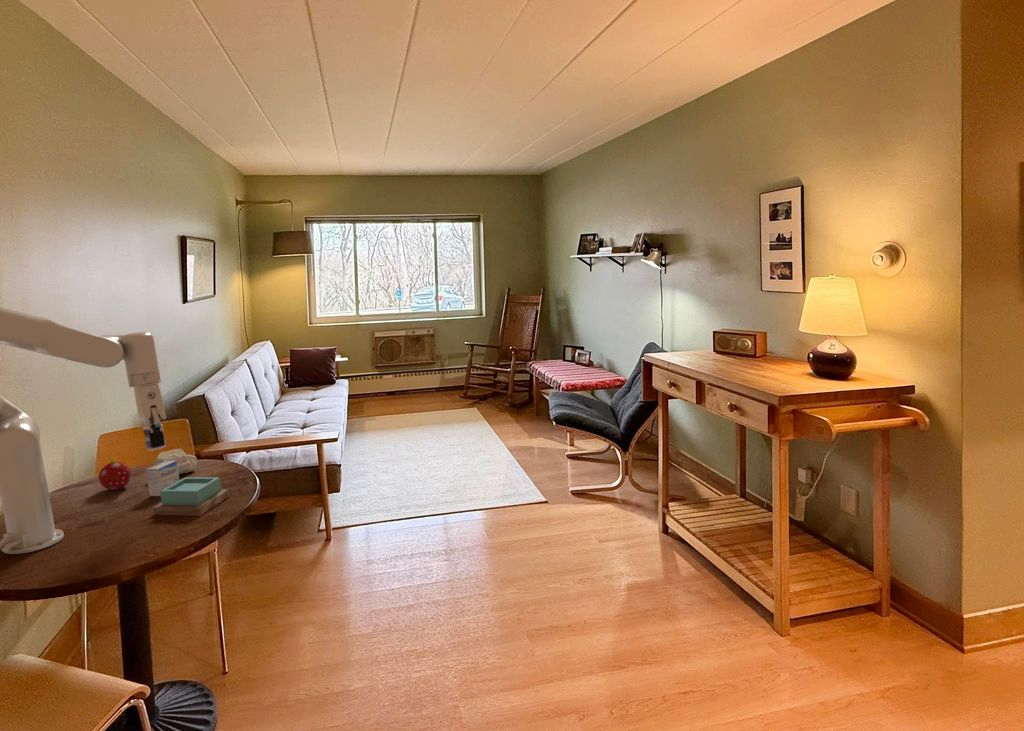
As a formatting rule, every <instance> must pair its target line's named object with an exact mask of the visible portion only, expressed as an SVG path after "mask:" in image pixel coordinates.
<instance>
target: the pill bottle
mask: <svg viewBox="0 0 1024 731" xmlns="http://www.w3.org/2000/svg"><path fill="white" fill-rule="evenodd" d="M159 418H160V417H159ZM160 419H161V418H160ZM150 421H154V420H153V419H150ZM142 423H143V424H144V425H145V426H144V425H143V424H142V425H143V427H142V431H143V437H144V443H145V449H146V450H147V451H156V450H161V449H163V448H165V447H166V445H167V444H166V438H165V433H164V427H163V424H162V423H161V427H162V431H163V436H164V442H165V445H163V446H158V447H154V448H152V447H151V442H150V437H149V433H150V430H149V425H148V422H145V421H144V420H142ZM153 424H154V423H152V424H151V425H153Z"/></svg>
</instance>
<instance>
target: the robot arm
mask: <svg viewBox="0 0 1024 731" xmlns="http://www.w3.org/2000/svg"><path fill="white" fill-rule="evenodd" d="M0 345H5V346H10V347H14V348H18V349H21V350H26V351H30V352H35V353H38V354H42V355H46V356H51V357H56V358H60V359H64V360H67V361H72V362H76V363H81V364H85V365H88V366H94V367H99V368H103V369H104V368H108V369H109V368H112V367H113V368H114V367H116V366H117V365H119V364H120V363H121V362H122V361H124V364H125V365H124V366H125V371H126V376H127V382H128V386H129V388H133V389H134V391H133V392H134V397H135V404H136V409H137V414H138V418H139V419H140V420H142V421H143V420H144V421H145V422H148V425H149V430H150V433H149V437H150V442H151V447H152V448H154V447H158V446H163V445H165V444H166V441H165V442H164V438H165V435H164V436H163V432H164V430H163V431H162V427H161V424H162V423H161V420H166V418H167V414H166V409H165V405H164V400H163V396H162V393H161V388H160V386H159V384H160V383H162V380H161V376H160V369H159V363H158V362H159V361H158V357H157V356H158V355H157V350H156V344H155V339H154V336H153V334H152V333H150V332H147V331H145V332H144V331H142V332H140V331H139V332H133V333H132V332H131V333H126V334H124V335H123V334H121V335H120V334H117V335H116V334H115V335H112V334H110V335H109V334H108V335H107V334H106V335H105V334H103V335H96V334H92V333H89V332H84V331H81V330H77V329H73V328H71V327H67V326H65V325H62V324H60V323H57V322H55V321H54V320H51V319H48V318H46V317H41V316H37V315H33V314H29V313H26V312H20V311H17V310H13V309H9V308H5V307H1V306H0ZM159 417H160V418H159ZM150 419H153V420H154V421H150ZM152 423H154V424H153V425H151V424H152ZM142 426H143V427H144V426H145V425H144V424H142ZM40 432H41V431H40V427H39V424H37V422H36V421H35V420H34V419H33V418H32V417H30V416H29V415H28V414H27V413H25V412H24V411H23V410H21V409H20V408H19V407H17V406H16V405H15V404H13V403H12V402H11V401H9V400H7V399H6V398H5V397H3V395H1V394H0V501H1V502H0V503H1V508H2V512H3V518H4V524H5V529H6V533H3V534H2V535H3V538H2V539H1V541H0V551H2V552H3V553H4V554H7V555H21V554H28V553H32V552H36V551H39V550H42V549H45V548H49V547H51V546H53V545H55V544H57V543H58V542H59V543H60V541H61V540H63V538H64V537H65V534H64V531H63V530H62V529H59V528H56V527H55V526H56V525H55V522H54V514H53V508H52V504H51V499H50V493H49V487H48V482H47V481H48V479H47V475H46V470H45V464H44V459H43V454H42V448H41V437H40V436H41V434H40Z"/></svg>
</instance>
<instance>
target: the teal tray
mask: <svg viewBox="0 0 1024 731" xmlns="http://www.w3.org/2000/svg"><path fill="white" fill-rule="evenodd" d="M221 484H222V483H221V477H213V476H211V477H209V476H208V477H201V476H200V477H199V476H198V477H189V476H188V477H187V476H186V477H184V478H181V479H179V481H177V482H176V483H174V484H172V485H170V486H168V487H167V488H165V489H163V490H161V491H160V494H161V496H160V499H161V502H162V505H200V504H201V503H203V502H204V501H206V500H207V499H209V498H211V497H212V496H214V495H215V494H217V493H218V492H220V491H221V489H222V485H221Z"/></svg>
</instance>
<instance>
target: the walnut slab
mask: <svg viewBox="0 0 1024 731" xmlns="http://www.w3.org/2000/svg"><path fill="white" fill-rule="evenodd" d="M229 496H231V495H230V489H228V488H227V489H226V488H225V489H224V488H221V491H220V492H218V493H217V494H215V495H214V496H212V497H211V498H209V499H207V500H206V501H204V502H203V503H201V504H200V505H162V501H161V502H159V503H158V504H156V505H154V506H152V510H153V515H154V516H199V517H200V516H202V515H204V514H205V513H207V512H208V511H210V510H211V509H214V508H215V507H216V506H217V505H219V504H220V503H222V502H223V500H224V499H225V500H227V499H228V498H230V497H229ZM227 497H228V498H227ZM226 498H227V499H226ZM225 500H224V501H225ZM218 503H219V504H218ZM215 505H216V506H215ZM156 514H158V515H156Z"/></svg>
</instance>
